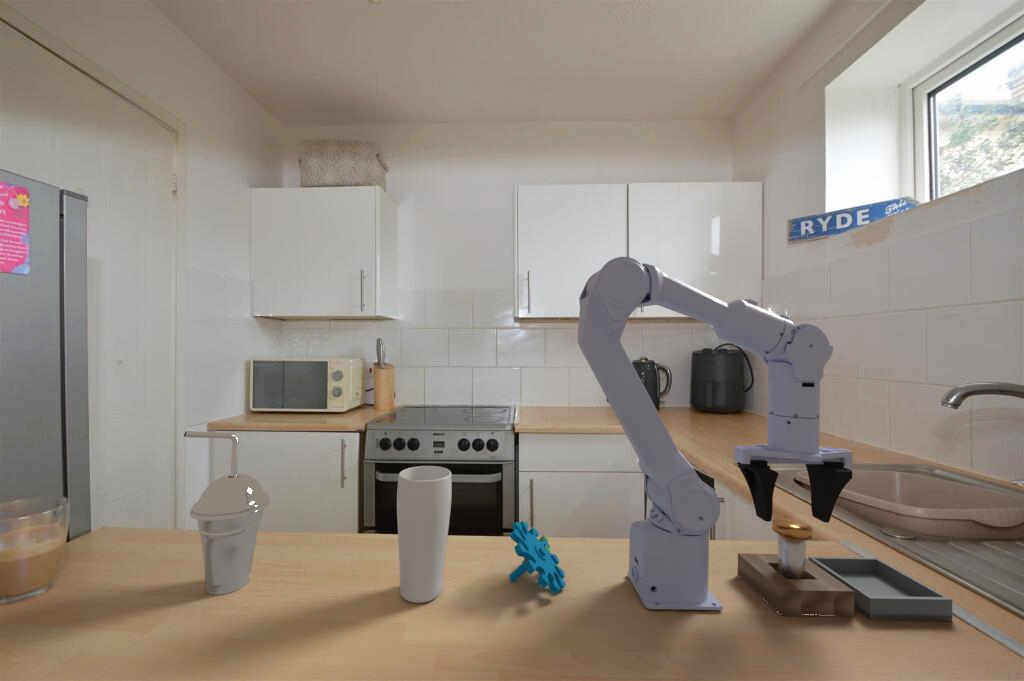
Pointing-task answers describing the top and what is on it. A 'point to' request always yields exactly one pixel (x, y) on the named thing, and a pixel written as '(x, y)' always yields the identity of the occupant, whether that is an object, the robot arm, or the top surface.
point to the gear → (536, 557)
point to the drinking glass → (423, 530)
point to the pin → (792, 546)
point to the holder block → (796, 587)
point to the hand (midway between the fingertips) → (792, 519)
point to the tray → (886, 590)
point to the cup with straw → (228, 523)
